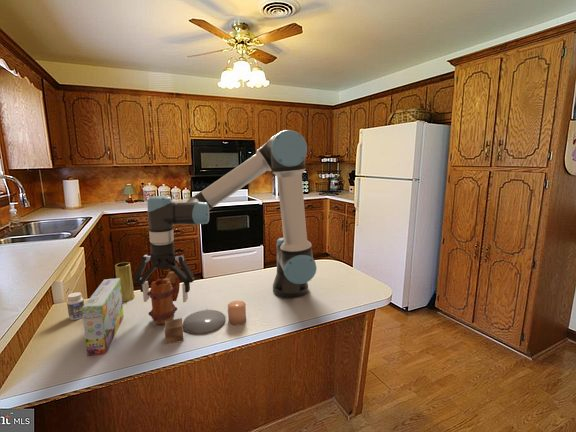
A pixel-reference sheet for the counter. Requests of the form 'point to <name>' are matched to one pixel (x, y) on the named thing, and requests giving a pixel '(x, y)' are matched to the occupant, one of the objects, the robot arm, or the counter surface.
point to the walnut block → (174, 331)
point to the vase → (125, 280)
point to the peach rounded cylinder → (236, 312)
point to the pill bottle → (75, 305)
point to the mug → (164, 298)
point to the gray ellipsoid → (204, 321)
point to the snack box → (102, 316)
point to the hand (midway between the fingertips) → (166, 300)
